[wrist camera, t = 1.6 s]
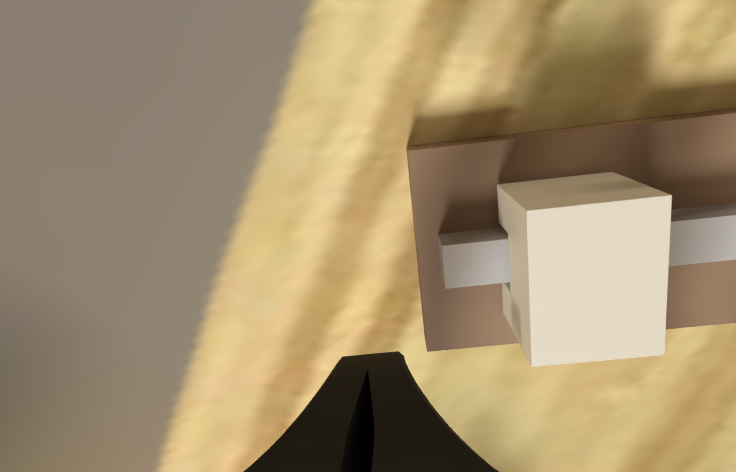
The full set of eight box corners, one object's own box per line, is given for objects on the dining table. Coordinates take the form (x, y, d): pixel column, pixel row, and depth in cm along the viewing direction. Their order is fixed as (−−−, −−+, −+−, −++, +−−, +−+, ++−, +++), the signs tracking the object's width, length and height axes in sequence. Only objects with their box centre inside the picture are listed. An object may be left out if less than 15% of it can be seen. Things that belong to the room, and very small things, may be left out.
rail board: (908, 88, 19) (1045, 90, 15) (873, 294, 21) (985, 342, 17) (406, 146, 20) (412, 162, 16) (424, 337, 22) (434, 391, 18)
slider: (612, 171, 18) (671, 194, 14) (610, 302, 20) (664, 355, 16) (497, 184, 18) (526, 211, 15) (503, 313, 20) (531, 366, 16)
